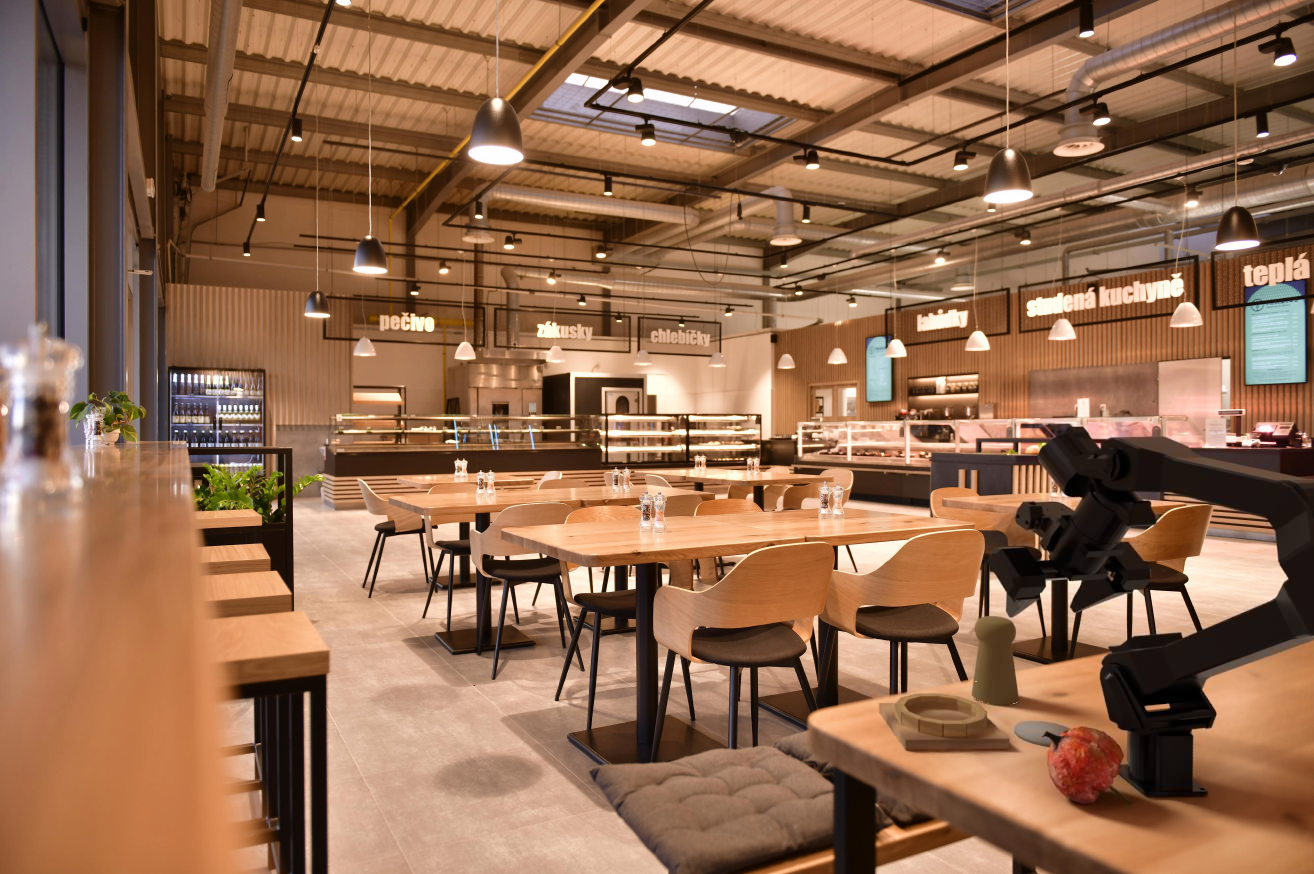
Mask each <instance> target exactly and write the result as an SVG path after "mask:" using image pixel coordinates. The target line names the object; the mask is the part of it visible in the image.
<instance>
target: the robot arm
mask: <svg viewBox="0 0 1314 874" xmlns="http://www.w3.org/2000/svg"><path fill="white" fill-rule="evenodd" d="M1037 461H1038V462H1039V464H1040V466H1042V467H1043V468H1044V470H1045V471H1046V473H1047V474H1048V476H1050V478H1051V479H1052V480H1053V481H1054V483H1055V484H1056V486H1057V487H1058V488H1059V489H1060V491H1061V493H1063V494H1064V495H1065V496H1066V497H1068V498H1080V501H1079V502H1078V504H1077V505H1076V508H1075V509H1073V508H1071V507H1069V506H1067V505H1066V504H1064V503H1062V502H1059V501H1051V500H1050V501H1032V500H1031V501H1030V500H1029V501H1022V503H1021V504H1020V505H1019V507H1018V508H1017V510H1016V512H1015V516H1014V521H1015V523H1016V525H1018V526H1019V527H1020V528H1022V529H1023V530H1025V531H1027V532H1028V531H1030V532H1031V531H1032V532H1033V533H1034V534H1036V535H1037V536H1038V537H1040V538H1041V540H1040V541H1039V543H1038V544H1039V546H1041V548H1042V550H1043V551H1046V552H1048V559H1045V560H1044V559H1041V560H1036V559H1035V558H1034V557H1033V555H1032V553H1031V552H1030V551H1029V548H1027V547H1026V546H1012V547H1011V546H1009V547H995V548H994V549H993V551H992V552H991V555H990V556H989V558H988V560H987V564H988V566H990V569H991V570H992V572H993V573H994V575H995V576H996V578H997V580H998V582H999V583H1000V585H1001V586H1002V588H1003V589H1004V591H1005V593H1006V594H1005V595H1006V596H1005V597H1006V598H1005V599H1006V600H1005V613H1006V615H1007V616H1008V618H1010V619H1012V618H1014V617H1017V616H1018V615H1019V614H1021V613H1022V612H1024V611H1025V610H1026V609H1028V608H1029V607H1030V606H1032V605H1033V604H1034V603H1036V602H1037V601H1038V600H1040V598H1041V597H1040V596H1039V595H1040V594H1042V593H1043V592H1044V590H1045V589H1046V587H1047V582H1048V581H1060V580H1061V581H1062V580H1068V582H1078V581H1079V582H1080V581H1081V583H1080V585H1079V587H1078V589H1077V590H1076V592H1075V594H1074V596H1073V597H1072V600H1071V602H1070V604H1069V609H1070V610H1071V611H1072V613H1074V614H1076V613H1079V612H1082V611H1084V610H1087V609H1090V608H1092V607H1094V606H1097V605H1099V604H1102V603H1104V602H1109V601H1110V600H1113V599H1115V598H1118V597H1120V596H1123V595H1128V594H1131V593H1133V592H1134V591H1135V590H1144V589H1145V588H1146V587H1147V585H1148V584H1149V583H1150V582H1151V580H1152V572H1151V571H1152V569H1151V567H1150V566H1149V565H1148V563H1147V562H1146V561H1144V559H1143V558H1142V557H1141V555H1140V554H1139V552H1138V551H1136V549H1135V548H1134V547H1133V546H1132V544H1131V543H1130V541H1127V540H1126V541H1123V538H1124V537H1125V535H1126V534H1127V533H1128V531H1129V529H1130V528H1131V527H1142V526H1143V527H1146V526H1155V525H1157V522H1158V521H1157V516H1156V514H1155V512H1154V511H1153V510H1154V509H1153V508H1152V501H1151V500H1149V499H1148V500H1147V499H1145V500H1144V499H1143V498H1142V496H1141V495H1140V494H1139V493H1170V494H1174V495H1178V496H1182V497H1186V498H1188V499H1193V500H1196V501H1200V502H1204V503H1207V504H1210V505H1215V506H1219V507H1222V508H1225V509H1230V510H1232V511H1233V510H1234V511H1237V512H1240V513H1244V514H1248V515H1252V516H1255V517H1260V518H1263V519H1266V520H1267V521H1268V523H1269V524H1270V526H1271V527H1272V529H1273V530H1274V533H1275V543H1276V551H1277V552H1276V553H1277V562H1278V564H1279V566H1280V568H1281V570H1282V571H1283V573H1284V575H1285V576H1286V578H1287V579H1286V580H1285V581H1283V583H1282V584H1281V587H1280V589H1279V591H1278V592H1277V594H1276V596H1275V597H1274V598H1272V599H1271V600H1269V601H1267V602H1265V603H1264V602H1263V603H1262V604H1259V605H1257V606H1254V607H1252V608H1250V609H1248V610H1245V611H1243V612H1241V613H1239V614H1235V615H1233V616H1231V617H1228V618H1226V619H1223V620H1222V621H1220V622H1218V623H1215V624H1212V625H1210V626H1208V627H1206V628H1203V629H1200V630H1198V631H1196V632H1193V633H1191V634H1189V635H1186V636H1183V634H1182V632H1181V631H1179V632H1177V631H1176V632H1167V633H1153V634H1142V635H1134V636H1132V637H1130V638H1128V639H1126V640H1125V641H1123V642H1122V644H1118V645H1117V644H1116V645H1110V646H1108V647H1107V648H1108V651H1110V652H1109V653H1107V654H1106V655H1105V656H1104V657H1103V659H1101V662H1100V664H1101V665H1102V666H1101V669H1100V672H1099V682H1100V685H1101V690H1102V694H1103V698H1104V702H1105V707H1106V712H1107V715H1108V719H1109V721H1110V722H1112V723H1114V724H1116V726H1117V728H1118V729H1119V730H1121V731H1124V732H1125V731H1127V743H1126V744H1127V746H1126V747H1127V748H1126V749H1127V750H1126V751H1127V756H1126V757H1127V758H1126V759H1127V764H1122V763H1121V764H1120V769H1119V772H1118V775H1120V776H1121V777H1122V778H1123V779H1124V780H1126V781H1127V782H1128V783H1129V784H1130V785H1132V786H1133V787H1134V788H1135V789H1137V790H1138V791H1139V792H1140V793H1142V794H1143V795H1145V796H1149V797H1150V796H1151V797H1152V796H1155V797H1157V796H1158V797H1159V796H1160V797H1161V796H1164V797H1166V796H1167V797H1168V796H1169V797H1170V796H1171V797H1172V796H1174V797H1175V796H1208V795H1209V789H1208V788H1206V787H1205V786H1204V785H1202V784H1201V783H1200V782H1198V781H1197V780H1195V779H1194V734H1193V730H1199V729H1202V730H1203V729H1205V730H1209V729H1212V727H1213V725H1214V723H1215V721H1216V718H1217V711H1216V709H1215V707H1214V706H1213V704H1212V702H1211V701H1210V700H1209V698H1208V696H1207V695H1206V693H1205V692H1204V690H1203V688H1204V687H1205V685H1206V681H1208V679H1210V678H1212V677H1215V676H1217V675H1220V674H1224V673H1225V672H1228V671H1229V672H1230V671H1231V670H1235V669H1237V668H1239V667H1244V666H1245V665H1249V664H1251V663H1254V662H1257V661H1260V660H1263V659H1265V658H1268V657H1271V656H1273V655H1274V656H1275V655H1277V654H1279V653H1282V652H1285V651H1288V650H1291V649H1294V648H1296V647H1300V646H1301V645H1305V644H1308V643H1311V642H1313V641H1314V478H1304V477H1299V476H1294V475H1290V474H1285V473H1280V472H1276V471H1271V470H1266V469H1263V468H1256V467H1252V466H1248V465H1244V464H1238V463H1233V462H1228V461H1225V460H1219V459H1214V458H1211V457H1210V458H1209V457H1204V456H1202V455H1199V454H1197V453H1195V452H1194V451H1193V450H1192V449H1191V448H1190V447H1189V446H1188V445H1185V444H1184V443H1182V442H1179V441H1176V440H1175V439H1172V438H1169V437H1167V436H1164V435H1163V436H1162V435H1161V436H1160V435H1159V436H1158V435H1156V436H1155V435H1154V436H1119V437H1117V436H1116V437H1115V436H1113V437H1109V438H1107V439H1105V442H1104V443H1103V444H1102V446H1101V448H1100V446H1099V445H1098V443H1096V441H1095V440H1094V439H1093V438H1092V436H1091V435H1090V433H1089V432H1088V430H1087V429H1086V428H1085V427H1084V426H1067V428H1066V430H1065V431H1064V433H1061V434H1059V435H1056V436H1055V437H1053V438H1052V439H1050V440H1049V441H1048V442H1046V443H1045V445H1042V446H1041V447H1040V449H1039V451H1038V454H1037ZM1138 492H1139V493H1138ZM1161 705H1168V706H1169V707H1167V708H1159V709H1158V708H1157V709H1147V708H1146V707H1149V706H1161Z"/></svg>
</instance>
